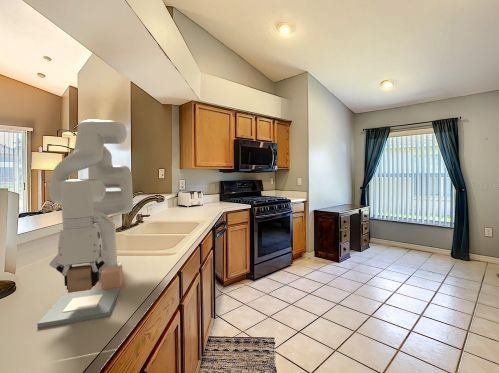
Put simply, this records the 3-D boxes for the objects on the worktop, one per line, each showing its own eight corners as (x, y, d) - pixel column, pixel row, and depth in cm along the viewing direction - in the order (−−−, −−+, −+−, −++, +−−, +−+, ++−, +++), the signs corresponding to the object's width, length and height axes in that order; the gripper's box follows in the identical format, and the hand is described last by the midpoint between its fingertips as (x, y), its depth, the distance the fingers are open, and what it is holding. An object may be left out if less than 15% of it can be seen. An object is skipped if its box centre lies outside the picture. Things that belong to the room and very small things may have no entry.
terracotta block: (105, 284, 91) (104, 267, 90) (123, 282, 92) (122, 265, 92) (101, 291, 85) (100, 273, 85) (120, 288, 87) (119, 270, 87)
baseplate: (62, 299, 80) (62, 294, 80) (119, 290, 85) (119, 286, 85) (37, 328, 65) (37, 322, 65) (108, 316, 70) (108, 311, 69)
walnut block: (74, 285, 76) (73, 264, 76) (96, 282, 78) (95, 262, 77) (67, 293, 71) (66, 271, 71) (90, 289, 72) (89, 268, 72)
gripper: (115, 218, 80) (118, 277, 80) (49, 223, 75) (53, 285, 75) (109, 222, 72) (113, 286, 73) (36, 228, 67) (40, 296, 68)
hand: (82, 285), depth 74 cm, fingers closed on walnut block, 5 cm apart
